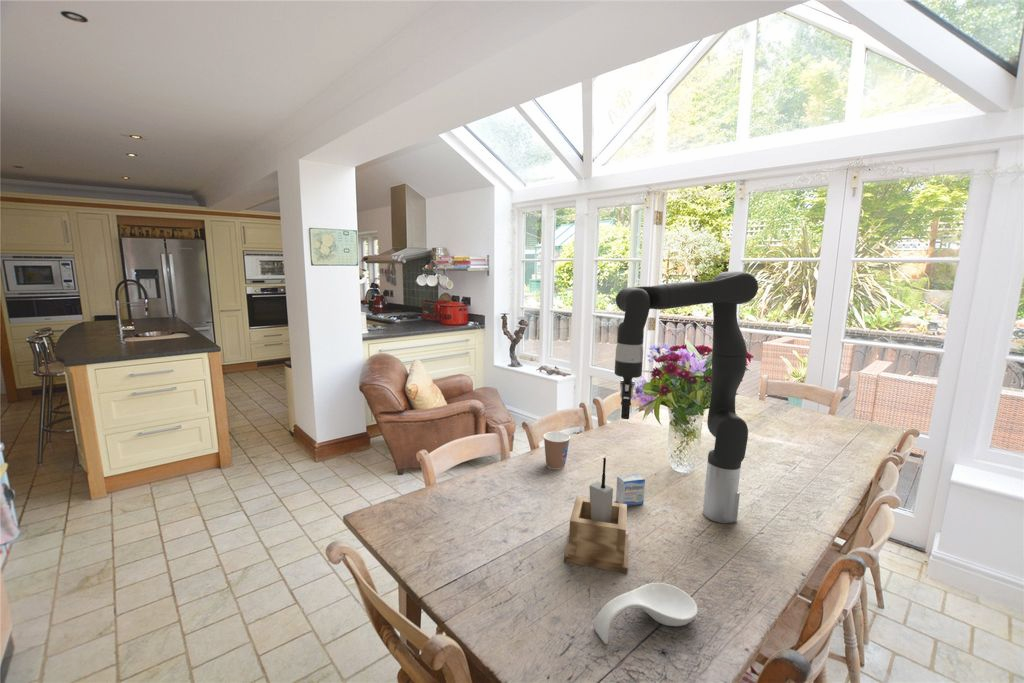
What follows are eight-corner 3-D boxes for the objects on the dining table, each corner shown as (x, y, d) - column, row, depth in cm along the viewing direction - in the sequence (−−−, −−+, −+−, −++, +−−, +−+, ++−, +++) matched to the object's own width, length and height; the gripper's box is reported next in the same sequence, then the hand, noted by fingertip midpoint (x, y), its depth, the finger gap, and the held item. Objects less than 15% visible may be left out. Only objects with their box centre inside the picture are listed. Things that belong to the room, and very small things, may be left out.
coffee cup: (567, 473, 167) (569, 442, 166) (540, 470, 169) (541, 439, 168) (569, 461, 177) (571, 432, 175) (544, 459, 179) (545, 430, 177)
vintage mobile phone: (594, 537, 125) (599, 452, 121) (609, 545, 121) (615, 458, 117) (586, 542, 122) (590, 455, 118) (601, 551, 118) (606, 462, 115)
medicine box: (622, 507, 144) (623, 482, 143) (615, 500, 148) (616, 475, 147) (643, 504, 146) (645, 479, 145) (636, 497, 150) (638, 473, 149)
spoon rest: (669, 591, 107) (672, 563, 106) (708, 627, 96) (711, 597, 95) (584, 618, 98) (585, 589, 97) (616, 662, 87) (618, 629, 86)
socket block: (628, 539, 127) (630, 503, 125) (627, 573, 112) (629, 532, 111) (571, 529, 131) (573, 494, 129) (563, 561, 116) (565, 522, 115)
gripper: (643, 364, 119) (639, 423, 121) (642, 355, 132) (638, 408, 135) (614, 362, 121) (610, 420, 123) (616, 353, 134) (613, 405, 137)
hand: (625, 414), depth 129 cm, fingers open, 8 cm apart
